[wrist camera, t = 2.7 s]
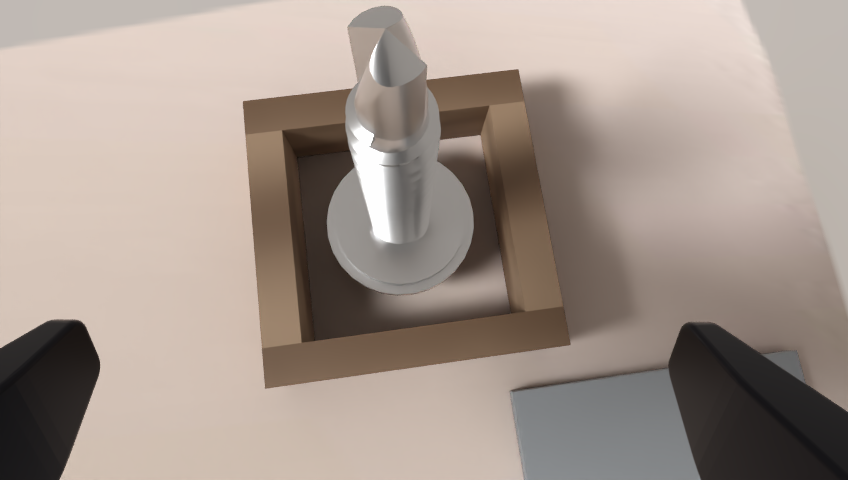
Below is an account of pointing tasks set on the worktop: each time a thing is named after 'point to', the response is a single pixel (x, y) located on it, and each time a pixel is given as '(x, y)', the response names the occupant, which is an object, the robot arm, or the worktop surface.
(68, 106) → the worktop surface
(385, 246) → the screw
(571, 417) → the mat
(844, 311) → the worktop surface
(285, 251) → the square wooden frame
